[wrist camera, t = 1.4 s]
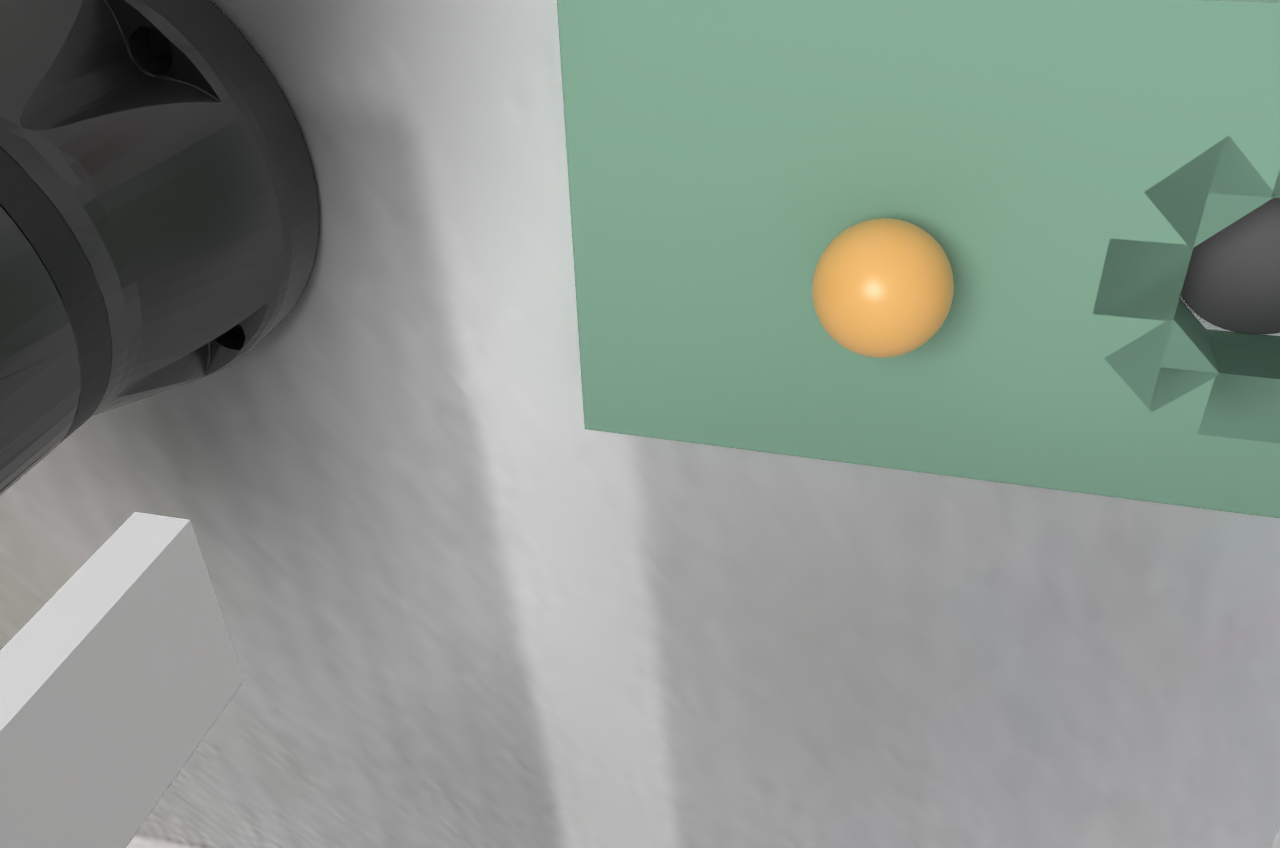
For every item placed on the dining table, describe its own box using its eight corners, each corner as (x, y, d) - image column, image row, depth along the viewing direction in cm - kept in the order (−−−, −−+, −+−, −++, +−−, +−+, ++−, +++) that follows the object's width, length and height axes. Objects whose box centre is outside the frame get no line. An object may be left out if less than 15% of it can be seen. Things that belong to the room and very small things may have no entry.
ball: (816, 310, 32) (799, 375, 29) (825, 191, 30) (807, 248, 27) (946, 322, 31) (941, 391, 28) (964, 201, 29) (961, 262, 26)
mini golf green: (605, 389, 38) (470, 647, 29) (583, -44, 31) (386, 106, 21) (1386, 483, 33) (1552, 839, 23) (1605, -12, 25) (1996, 209, 15)
